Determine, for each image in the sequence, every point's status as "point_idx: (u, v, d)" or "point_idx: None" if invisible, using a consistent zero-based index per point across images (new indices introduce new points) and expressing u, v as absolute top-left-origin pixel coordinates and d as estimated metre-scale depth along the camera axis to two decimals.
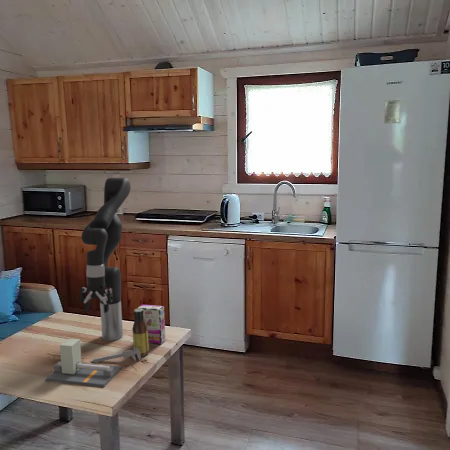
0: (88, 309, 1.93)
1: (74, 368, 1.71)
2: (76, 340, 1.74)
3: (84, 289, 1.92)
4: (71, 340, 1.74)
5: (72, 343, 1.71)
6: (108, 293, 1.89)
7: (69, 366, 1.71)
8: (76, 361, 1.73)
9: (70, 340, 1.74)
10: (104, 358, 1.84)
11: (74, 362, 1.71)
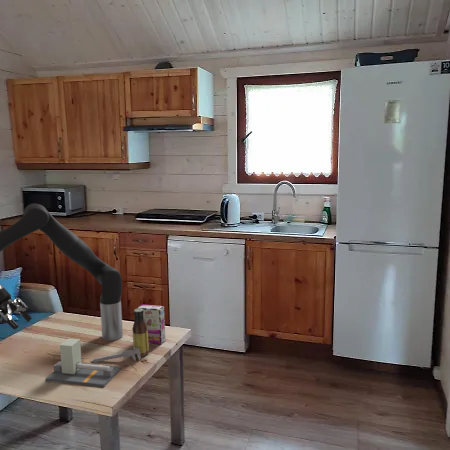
0: (28, 319, 1.79)
1: (74, 368, 1.71)
2: (76, 340, 1.74)
3: None
4: (71, 340, 1.74)
5: (72, 343, 1.71)
6: None
7: (69, 366, 1.71)
8: (76, 361, 1.73)
9: (70, 340, 1.74)
10: (104, 358, 1.84)
11: (74, 362, 1.71)
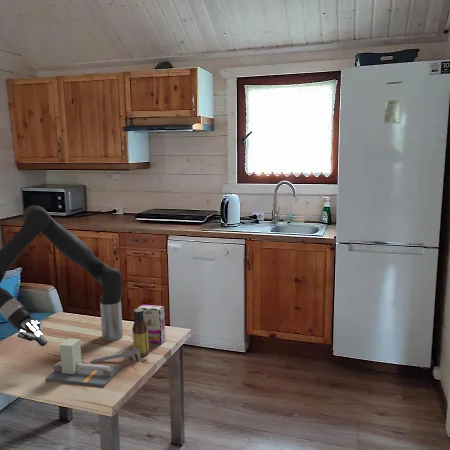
0: None
1: (74, 368, 1.71)
2: (76, 340, 1.74)
3: None
4: (71, 340, 1.74)
5: (72, 343, 1.71)
6: None
7: (69, 366, 1.71)
8: (76, 361, 1.73)
9: (70, 340, 1.74)
10: (104, 358, 1.84)
11: (74, 362, 1.71)
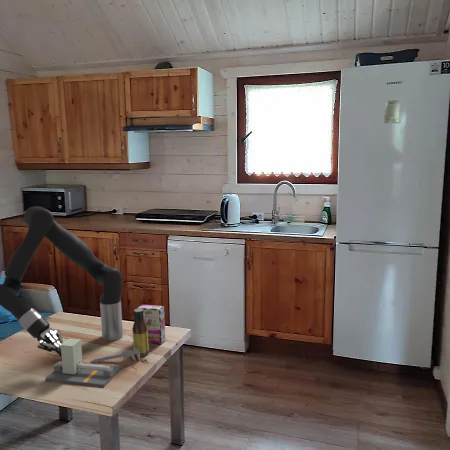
0: None
1: (75, 368, 1.71)
2: (77, 340, 1.74)
3: None
4: (72, 340, 1.74)
5: (73, 343, 1.71)
6: None
7: (69, 366, 1.71)
8: (77, 361, 1.73)
9: (71, 341, 1.73)
10: (104, 358, 1.84)
11: (75, 362, 1.71)
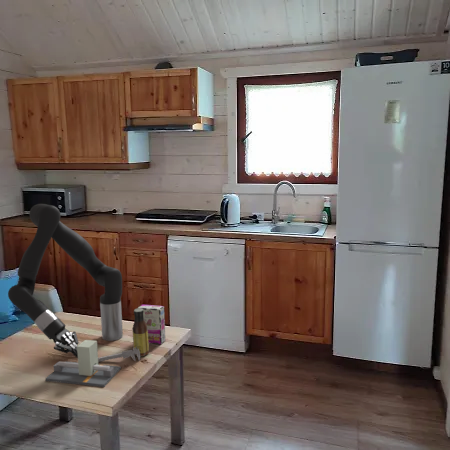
0: None
1: (91, 370, 1.70)
2: (93, 341, 1.72)
3: None
4: (88, 341, 1.72)
5: (89, 344, 1.70)
6: None
7: (86, 368, 1.69)
8: (93, 363, 1.71)
9: (87, 342, 1.72)
10: (104, 358, 1.84)
11: (91, 364, 1.70)
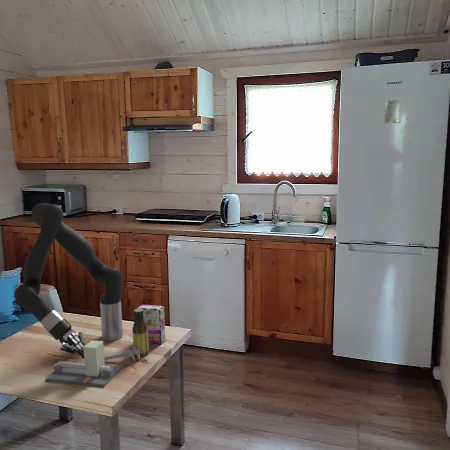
0: None
1: (98, 370, 1.69)
2: (99, 342, 1.72)
3: None
4: (94, 342, 1.72)
5: (96, 345, 1.69)
6: None
7: (92, 368, 1.69)
8: (100, 363, 1.71)
9: (93, 342, 1.72)
10: (104, 358, 1.84)
11: (98, 364, 1.69)
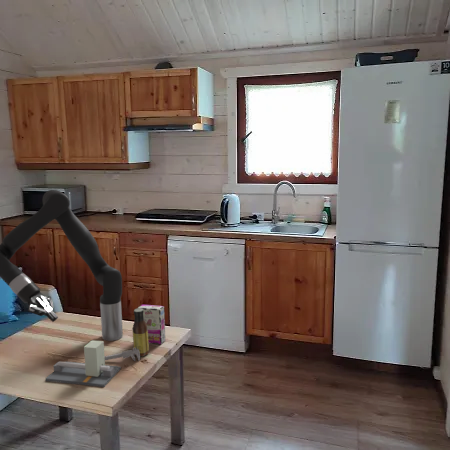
0: None
1: (98, 370, 1.69)
2: (100, 342, 1.72)
3: None
4: (95, 342, 1.72)
5: (96, 345, 1.69)
6: None
7: (93, 368, 1.69)
8: (100, 363, 1.71)
9: (94, 342, 1.72)
10: None
11: (98, 364, 1.69)
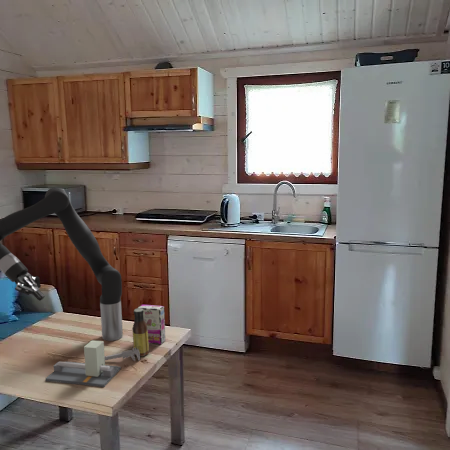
0: None
1: (98, 370, 1.69)
2: (100, 342, 1.72)
3: None
4: (95, 342, 1.72)
5: (96, 345, 1.69)
6: None
7: (93, 368, 1.69)
8: (100, 363, 1.71)
9: (94, 342, 1.72)
10: None
11: (98, 364, 1.69)
